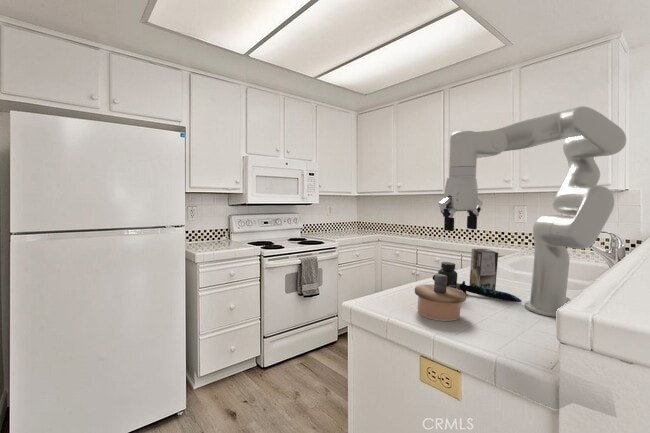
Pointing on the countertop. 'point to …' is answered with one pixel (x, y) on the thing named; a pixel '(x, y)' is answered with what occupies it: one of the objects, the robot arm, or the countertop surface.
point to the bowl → (438, 310)
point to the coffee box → (483, 268)
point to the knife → (486, 292)
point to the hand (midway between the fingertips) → (460, 229)
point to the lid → (440, 291)
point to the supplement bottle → (449, 273)
